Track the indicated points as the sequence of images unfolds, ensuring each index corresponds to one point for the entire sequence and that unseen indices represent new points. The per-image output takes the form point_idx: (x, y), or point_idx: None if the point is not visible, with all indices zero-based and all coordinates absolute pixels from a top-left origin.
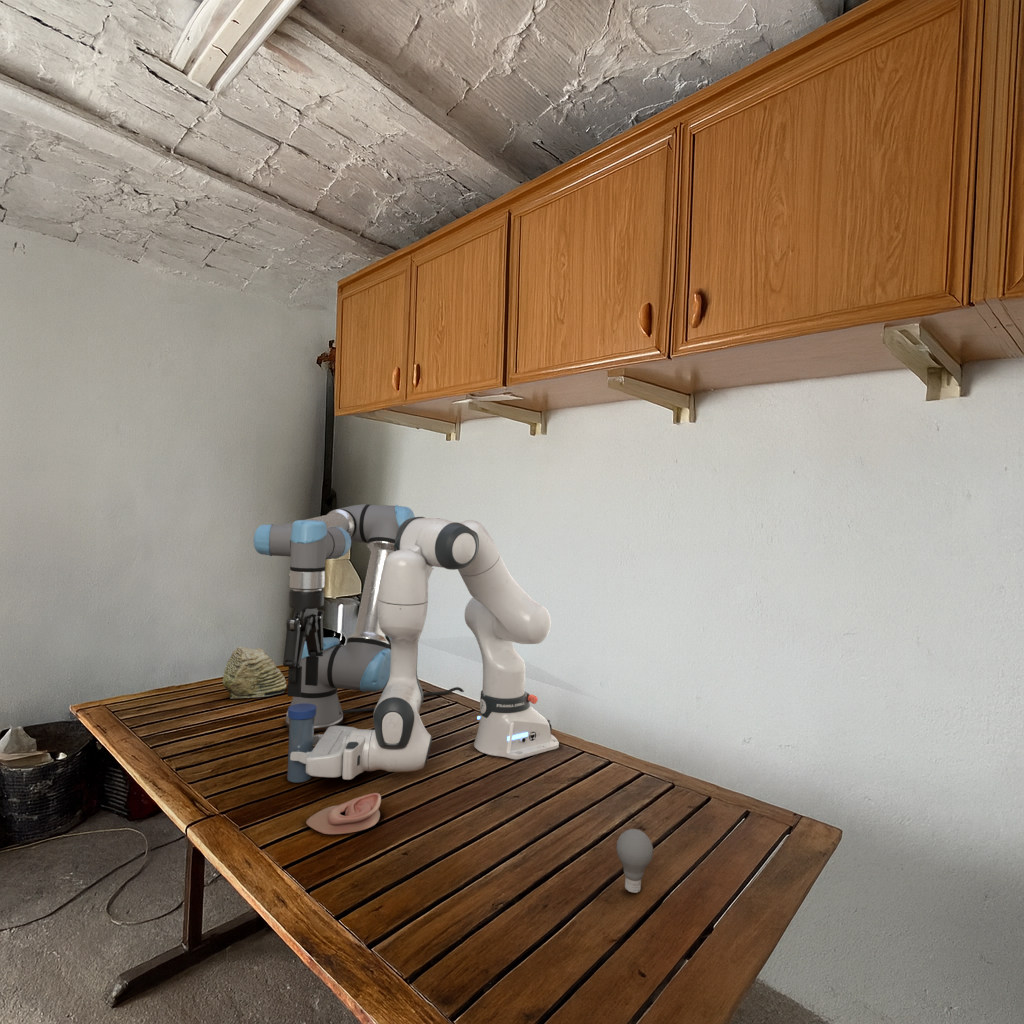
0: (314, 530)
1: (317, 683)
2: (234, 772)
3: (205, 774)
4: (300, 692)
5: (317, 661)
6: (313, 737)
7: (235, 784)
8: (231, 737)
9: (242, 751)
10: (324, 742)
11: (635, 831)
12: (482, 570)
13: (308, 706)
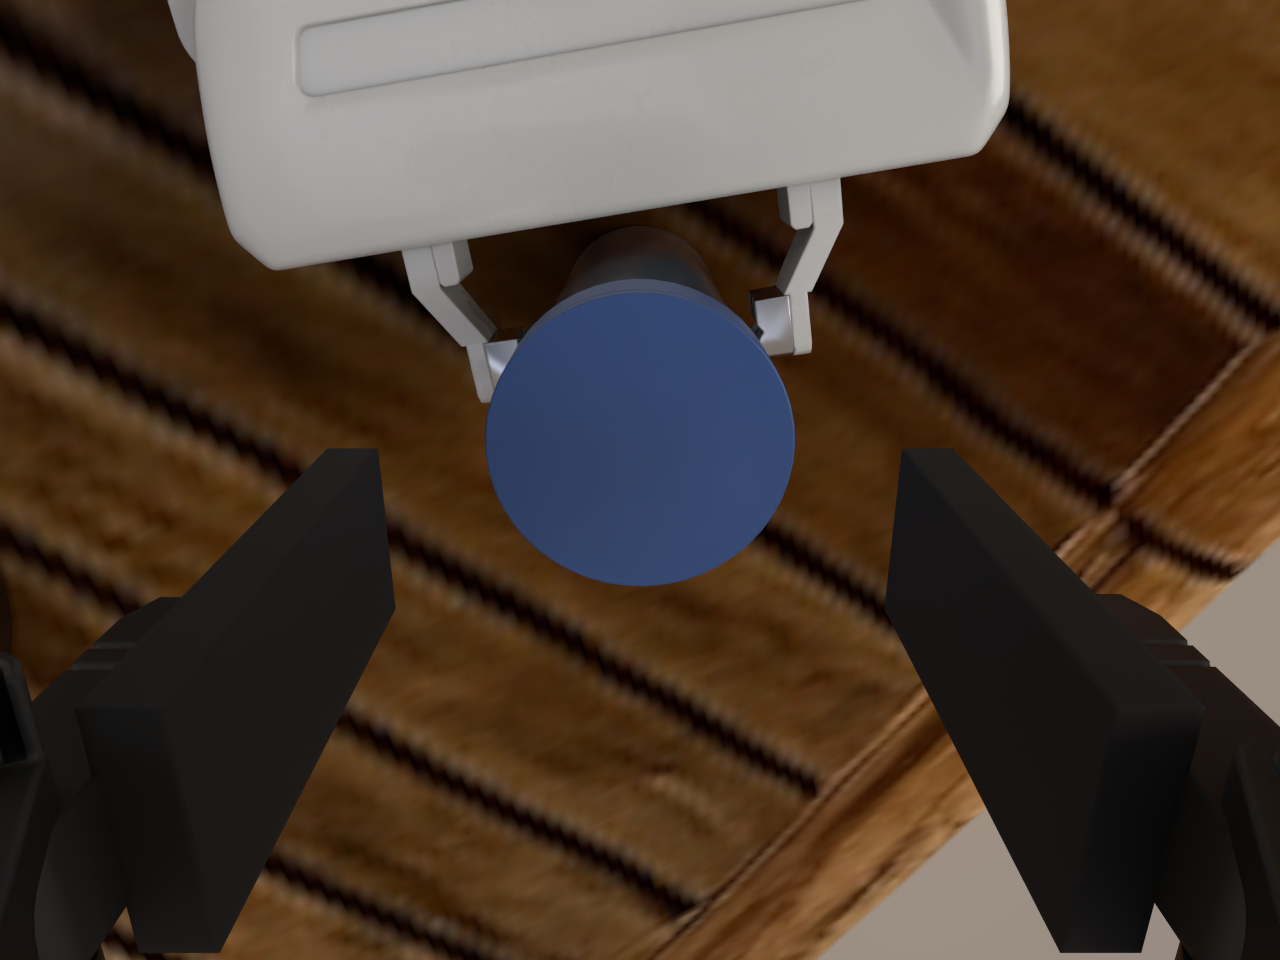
0: None
1: (328, 456)
2: (658, 669)
3: (710, 777)
4: (936, 469)
5: (191, 650)
6: (615, 264)
7: (793, 595)
8: (252, 890)
9: (400, 758)
10: (645, 139)
11: None
12: None
13: (589, 399)
